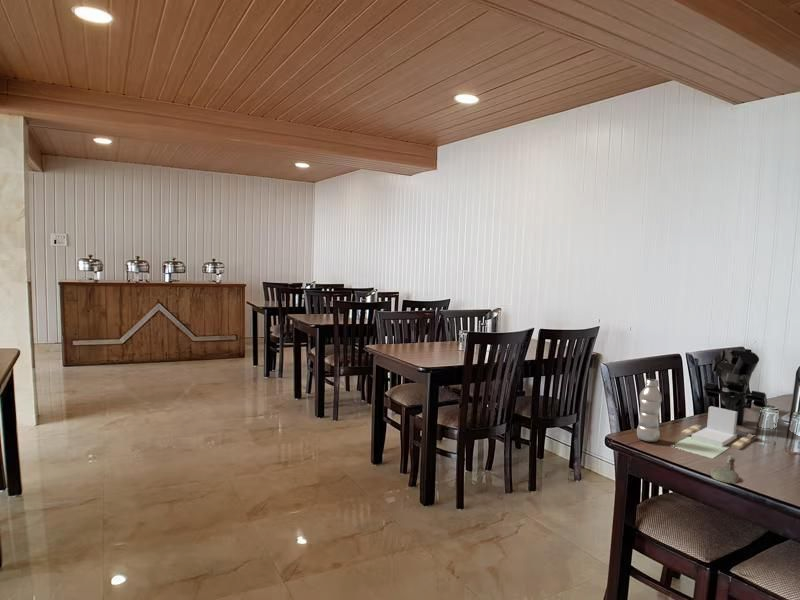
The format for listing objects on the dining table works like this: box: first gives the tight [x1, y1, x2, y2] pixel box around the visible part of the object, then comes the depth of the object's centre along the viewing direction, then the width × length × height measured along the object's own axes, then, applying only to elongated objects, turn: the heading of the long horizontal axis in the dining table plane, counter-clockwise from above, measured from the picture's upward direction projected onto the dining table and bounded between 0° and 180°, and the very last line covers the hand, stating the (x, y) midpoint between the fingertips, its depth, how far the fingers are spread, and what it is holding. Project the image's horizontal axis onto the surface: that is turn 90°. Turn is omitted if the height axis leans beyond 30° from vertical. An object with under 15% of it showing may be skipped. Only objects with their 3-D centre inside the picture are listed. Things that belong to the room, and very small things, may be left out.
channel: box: [680, 423, 752, 450], centre depth 172 cm, size 14×17×1 cm
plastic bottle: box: [636, 378, 663, 443], centre depth 165 cm, size 6×7×20 cm
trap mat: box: [700, 422, 750, 438], centre depth 181 cm, size 7×16×1 cm, turn 42°
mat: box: [671, 436, 730, 460], centre depth 161 cm, size 16×12×1 cm
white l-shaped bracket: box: [690, 405, 738, 447], centre depth 171 cm, size 16×9×9 cm, turn 132°
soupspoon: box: [709, 455, 740, 484], centre depth 144 cm, size 22×3×7 cm
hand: (727, 413), depth 179 cm, fingers closed
